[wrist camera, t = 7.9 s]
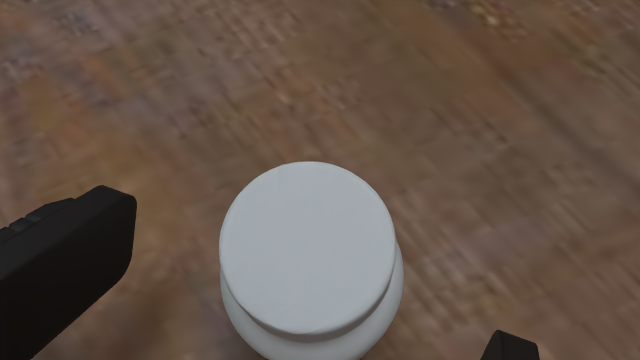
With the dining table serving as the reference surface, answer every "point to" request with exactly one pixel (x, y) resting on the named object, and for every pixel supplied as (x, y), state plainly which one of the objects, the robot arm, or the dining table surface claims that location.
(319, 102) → the dining table surface
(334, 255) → the pill bottle
